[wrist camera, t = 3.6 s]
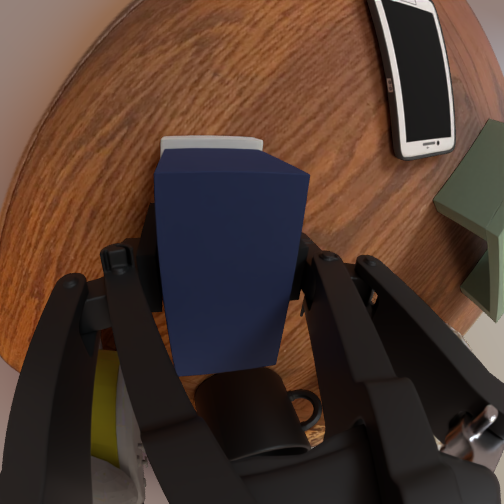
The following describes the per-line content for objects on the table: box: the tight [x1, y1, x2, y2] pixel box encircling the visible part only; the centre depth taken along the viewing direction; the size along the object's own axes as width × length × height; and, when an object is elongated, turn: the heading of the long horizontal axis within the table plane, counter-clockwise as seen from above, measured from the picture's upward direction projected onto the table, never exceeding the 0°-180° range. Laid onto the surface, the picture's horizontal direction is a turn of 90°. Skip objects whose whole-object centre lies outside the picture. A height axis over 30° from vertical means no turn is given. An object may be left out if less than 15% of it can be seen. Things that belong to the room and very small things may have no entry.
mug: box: [195, 367, 322, 461], centre depth 23 cm, size 9×12×9 cm
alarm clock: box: [91, 337, 148, 504], centre depth 14 cm, size 12×7×15 cm, turn 164°
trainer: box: [154, 136, 310, 376], centre depth 14 cm, size 13×5×8 cm, turn 175°
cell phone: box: [367, 0, 456, 161], centre depth 14 cm, size 8×15×1 cm, turn 12°
